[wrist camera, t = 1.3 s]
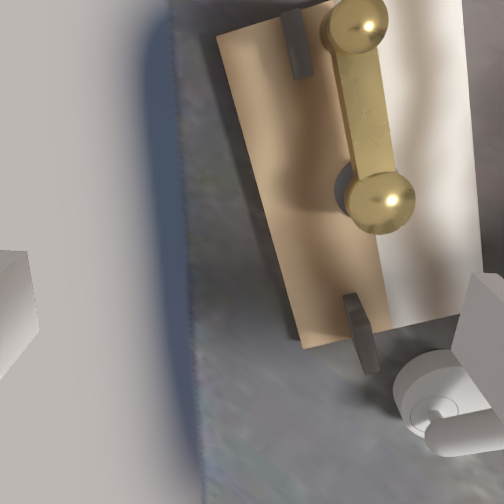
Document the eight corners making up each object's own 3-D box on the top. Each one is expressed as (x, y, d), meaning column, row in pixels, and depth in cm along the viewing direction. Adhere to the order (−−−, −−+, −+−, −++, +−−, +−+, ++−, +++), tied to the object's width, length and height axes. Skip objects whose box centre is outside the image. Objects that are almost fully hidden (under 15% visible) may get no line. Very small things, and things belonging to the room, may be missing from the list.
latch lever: (405, 212, 32) (430, 236, 28) (347, 227, 33) (362, 253, 28) (373, -6, 27) (397, -22, 22) (304, 15, 27) (313, 4, 23)
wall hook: (583, 462, 33) (470, 525, 35) (513, 378, 41) (427, 434, 44) (522, 397, 30) (406, 470, 33) (462, 323, 39) (374, 385, 42)
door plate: (450, -36, 28) (499, -63, 23) (479, 300, 38) (519, 341, 32) (217, 37, 30) (208, 29, 24) (301, 341, 40) (309, 386, 34)
